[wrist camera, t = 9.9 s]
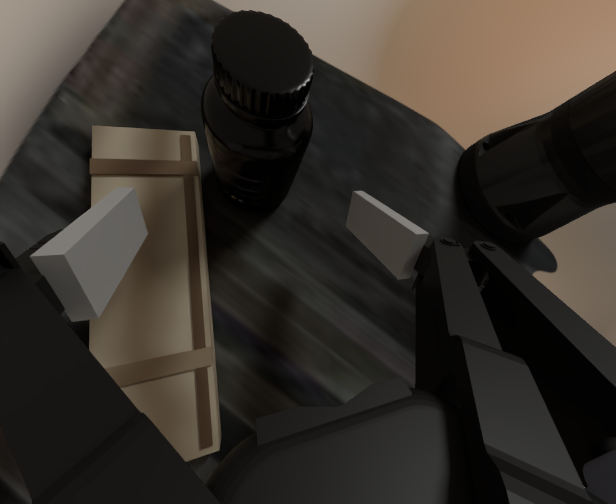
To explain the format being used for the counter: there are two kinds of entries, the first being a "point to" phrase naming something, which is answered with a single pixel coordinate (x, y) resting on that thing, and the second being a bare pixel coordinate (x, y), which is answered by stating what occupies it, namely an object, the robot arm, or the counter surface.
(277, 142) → the supplement bottle
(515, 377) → the robot arm
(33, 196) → the counter surface
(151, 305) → the birch board
